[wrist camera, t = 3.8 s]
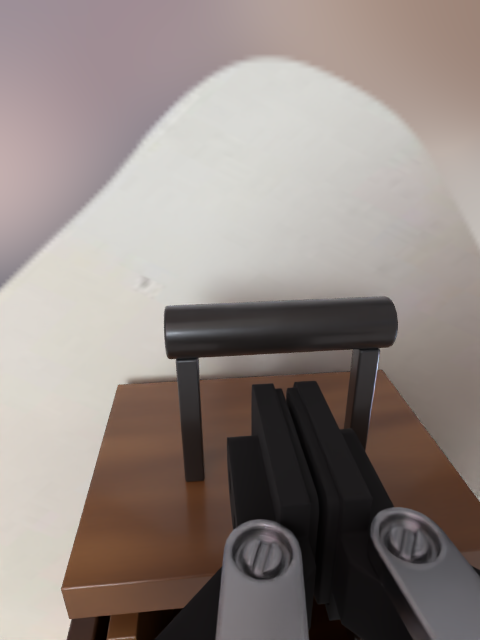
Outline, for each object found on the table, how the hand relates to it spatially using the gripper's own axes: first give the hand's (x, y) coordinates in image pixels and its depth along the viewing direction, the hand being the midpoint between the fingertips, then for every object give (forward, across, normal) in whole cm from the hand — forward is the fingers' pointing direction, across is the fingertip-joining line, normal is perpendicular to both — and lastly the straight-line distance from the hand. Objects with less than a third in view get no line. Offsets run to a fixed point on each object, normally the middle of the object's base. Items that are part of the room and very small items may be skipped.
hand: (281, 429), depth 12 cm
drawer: (+7, 0, +6) cm, 9 cm away
